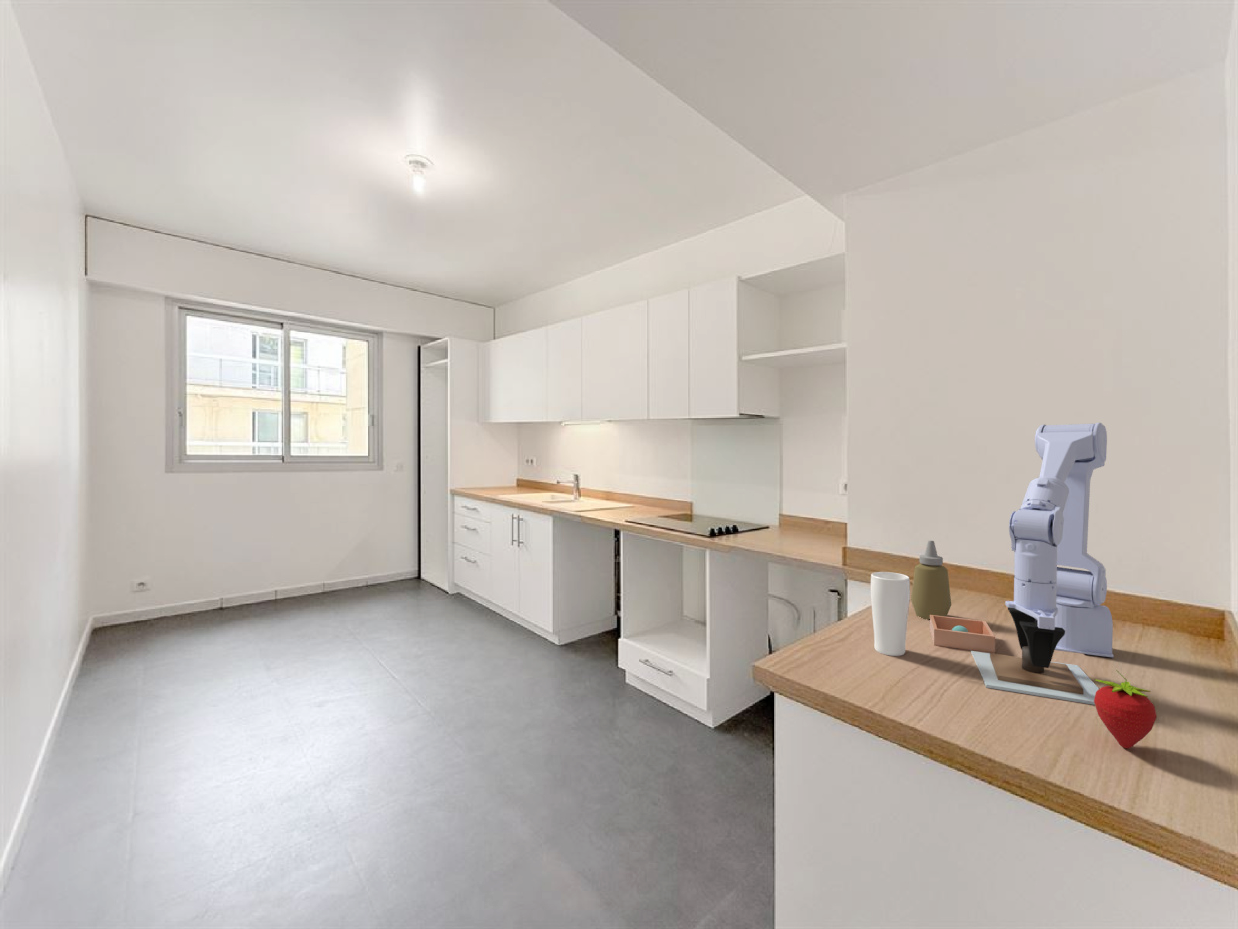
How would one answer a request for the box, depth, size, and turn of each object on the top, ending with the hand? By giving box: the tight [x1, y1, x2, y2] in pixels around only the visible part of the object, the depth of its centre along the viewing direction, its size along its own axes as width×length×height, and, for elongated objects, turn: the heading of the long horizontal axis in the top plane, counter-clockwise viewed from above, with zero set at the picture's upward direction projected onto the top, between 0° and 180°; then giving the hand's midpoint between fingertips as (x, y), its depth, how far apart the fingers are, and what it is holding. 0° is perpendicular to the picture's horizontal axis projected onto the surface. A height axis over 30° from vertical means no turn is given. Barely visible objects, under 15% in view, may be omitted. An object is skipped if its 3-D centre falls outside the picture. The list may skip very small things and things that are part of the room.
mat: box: [970, 650, 1100, 706], centre depth 90 cm, size 16×16×1 cm
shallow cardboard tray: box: [929, 615, 996, 654], centre depth 106 cm, size 10×10×4 cm
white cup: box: [870, 571, 911, 657], centre depth 101 cm, size 7×7×15 cm
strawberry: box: [1094, 669, 1158, 749], centre depth 69 cm, size 6×8×10 cm
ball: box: [952, 626, 968, 632], centre depth 106 cm, size 3×3×3 cm
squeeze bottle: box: [910, 540, 952, 620], centre depth 121 cm, size 8×8×18 cm
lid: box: [990, 646, 1083, 694], centre depth 90 cm, size 11×11×4 cm
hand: (1034, 658), depth 90 cm, fingers open, 7 cm apart
